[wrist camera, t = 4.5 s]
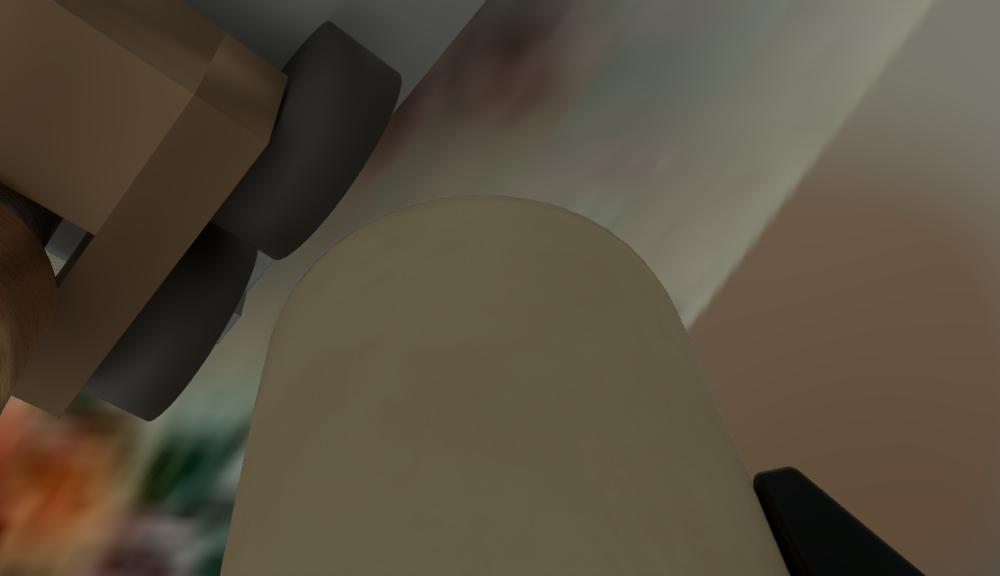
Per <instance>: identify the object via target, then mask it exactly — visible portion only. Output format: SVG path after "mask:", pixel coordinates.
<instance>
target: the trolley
mask: <svg viewBox="0 0 1000 576" xmlns="http://www.w3.org/2000/svg"><path fill="white" fill-rule="evenodd" d="M401 84H402V79H401V75H400V73H399V72H397V71H396V70H395V69H393V68H392V67H391V66H389V65H388V64H387V63H385V62H384V61H383V60H381V59H380V58H379V57H377V56H376V55H375V54H373V53H372V52H371V51H369V50H368V49H367V48H365V47H364V46H363V45H361V44H360V43H359V42H357V41H356V40H355V39H353V38H352V37H351V36H349V35H348V34H347V33H345V32H344V31H343V30H341V29H340V28H339V27H337V26H336V25H335V24H333V23H332V22H331V21H327V22H325V23H323V24H322V25H321V26H320V27H318V28H317V29H316V30H315V31H314V32H313V33H312V34H311V35H310V36H309V38H308V39H307V40H306V41H305V42H304V43H303V44H302V45H301V47H300V48H299V49H298V50H297V51H296V53H295V54H294V55H293V56H292V58H291V59H290V60H289V61H288V63H287V64H286V65H285V66H284V68H283V69H282V70H281V71H280V70H279V69H277V68H276V67H275V66H273V65H272V64H270V63H269V62H267V61H266V60H265V59H263V58H262V57H260V56H259V55H258V54H256V53H255V52H253V51H252V50H250V49H249V48H248V47H246V46H245V45H243V44H242V43H241V42H239V41H238V40H236V39H235V38H234V37H232V36H231V35H229V34H228V33H226V32H225V31H224V30H222V29H221V28H219V27H218V26H217V25H215V24H214V23H212V22H211V21H209V20H208V19H207V18H205V17H204V16H202V15H201V14H200V13H198V12H197V11H195V10H194V9H192V8H191V7H190V6H188V5H187V4H185V3H184V2H183V1H181V0H0V182H1V183H3V184H4V185H6V186H8V187H10V188H12V189H13V190H15V191H17V192H19V193H20V194H22V195H24V196H26V197H28V198H29V199H31V200H33V201H35V202H36V203H38V204H40V205H42V206H43V207H45V208H47V209H49V210H51V211H52V212H54V213H56V214H58V215H59V216H61V217H63V218H65V219H67V220H68V221H70V222H72V223H74V224H75V225H77V226H79V227H81V228H82V229H84V230H86V231H87V233H86V234H85V236H84V237H83V239H82V240H81V242H80V243H79V244H78V246H77V247H76V249H75V250H74V252H73V253H72V254H71V256H70V257H69V259H68V260H67V262H66V263H65V264H64V266H63V267H62V269H61V270H60V272H59V273H58V275H57V276H56V277H55V279H56V285H57V303H56V309H55V314H54V316H53V319H52V322H51V324H50V326H49V328H48V330H47V331H46V333H45V335H44V337H43V339H42V340H41V342H40V344H39V346H38V348H37V349H36V351H35V353H34V355H33V357H32V358H31V360H30V362H29V364H28V366H27V367H26V369H25V371H24V373H23V375H22V376H21V378H20V380H19V382H18V384H17V385H16V387H15V389H14V391H13V393H12V396H14V397H16V398H18V399H20V400H23V401H25V402H27V403H29V404H31V405H33V406H35V407H38V408H40V409H42V410H44V411H46V412H48V413H50V414H52V415H55V416H57V417H60V416H61V415H62V413H63V412H64V411H65V409H66V408H67V407H68V405H69V404H70V403H71V401H72V400H73V399H74V398H75V396H76V395H77V394H78V392H79V391H80V390H81V389H82V390H84V391H86V392H88V393H90V394H92V395H94V396H96V397H99V398H101V399H103V400H105V401H107V402H109V403H111V404H113V405H115V406H117V407H119V408H121V409H123V410H125V411H127V412H129V413H131V414H133V415H135V416H138V417H140V418H142V419H144V420H146V421H152V420H154V419H156V418H157V417H158V416H160V415H161V414H162V413H163V412H164V411H165V410H166V409H167V408H168V407H169V406H170V405H171V404H172V403H173V402H174V401H175V400H176V398H177V397H178V396H179V395H180V394H181V393H182V391H183V390H184V389H185V388H186V386H187V385H188V384H189V382H190V381H191V380H192V378H193V377H194V376H195V374H196V373H197V371H198V370H199V369H200V367H201V366H202V364H203V363H204V361H205V360H206V358H207V357H208V355H209V354H210V352H211V351H212V349H213V347H214V346H215V344H216V343H217V341H218V339H219V338H220V336H221V334H222V333H223V331H224V329H225V328H226V326H227V324H228V322H229V320H230V319H231V317H232V315H233V313H234V311H235V309H236V307H237V305H238V303H239V302H240V300H241V297H242V295H243V293H244V291H245V289H246V287H247V284H248V282H249V280H250V277H251V274H252V272H253V269H254V266H255V262H256V258H257V251H258V250H259V251H261V252H262V253H264V254H266V255H267V256H269V257H271V258H272V259H275V260H280V259H283V258H285V257H287V256H288V255H290V254H291V253H292V252H294V251H295V250H296V249H297V248H298V247H300V246H301V245H302V244H303V243H304V242H305V241H306V240H307V239H308V238H309V237H310V236H311V235H312V234H313V233H314V232H315V231H316V230H317V228H318V227H319V226H320V225H321V224H322V223H323V221H324V220H325V219H326V218H327V217H328V215H329V214H330V213H331V212H332V210H333V209H334V208H335V207H336V205H337V204H338V203H339V201H340V200H341V199H342V197H343V196H344V195H345V193H346V192H347V190H348V189H349V188H350V186H351V185H352V183H353V182H354V180H355V179H356V177H357V176H358V174H359V173H360V171H361V170H362V168H363V167H364V165H365V163H366V162H367V160H368V159H369V157H370V155H371V154H372V152H373V150H374V148H375V147H376V145H377V143H378V141H379V140H380V138H381V136H382V134H383V132H384V130H385V128H386V126H387V124H388V122H389V120H390V118H391V115H392V113H393V111H394V108H395V106H396V103H397V100H398V97H399V94H400V90H401Z"/></svg>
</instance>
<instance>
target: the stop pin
mask: <svg viewBox="0 0 1000 576" xmlns="http://www.w3.org/2000/svg"><path fill="white" fill-rule="evenodd" d="M63 219H64V218H63V217H61V216H59V215H58V214H56V213H54V212H52V211H51V210H49V209H47V208H45V207H43V206H42V205H40V204H38V203H36V202H35V201H33V200H31V199H29V198H28V197H26V196H24V195H22V194H20V193H19V192H17V191H15V190H13V189H12V188H10V187H8V186H6V185H4V184H3V183H1V182H0V414H1V413H2V411H3V409H4V407H5V405H6V404H7V402H8V400H9V398H10V396H11V395H12V393H13V391H14V389H15V387H16V385H17V384H18V382H19V380H20V378H21V376H22V375H23V373H24V371H25V369H26V367H27V366H28V364H29V362H30V360H31V358H32V357H33V355H34V353H35V351H36V349H37V348H38V346H39V344H40V342H41V340H42V339H43V337H44V335H45V333H46V331H47V330H48V328H49V326H50V324H51V322H52V319H53V316H54V314H55V309H56V303H57V285H56V279H55V274H54V271H53V268H52V265H51V262H50V260H49V258H48V256H47V254H46V252H45V250H44V248H45V247H46V245H47V244H48V242H49V241H50V239H51V238H52V236H53V234H54V233H55V231H56V230H57V228H58V227H59V225H60V223H61V222H62V220H63Z"/></svg>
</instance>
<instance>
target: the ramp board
mask: <svg viewBox="0 0 1000 576" xmlns="http://www.w3.org/2000/svg"><path fill="white" fill-rule="evenodd" d="M181 1H183V2H184V3H185V4H187V5H188V6H190V7H191V8H192V9H194V10H195V11H197V12H198V13H200V14H201V15H202V16H204V17H205V18H207V19H208V20H209V21H211V22H212V23H214V24H215V25H217V26H218V27H219V28H221V29H222V30H224V31H225V32H226V33H228V34H229V35H231V36H232V37H234V38H235V39H236V40H238V41H239V42H241V43H242V44H243V45H245V46H246V47H248V48H249V49H250V50H252V51H253V52H255V53H256V54H258V55H259V56H260V57H262V58H263V59H265V60H266V61H267V62H269V63H270V64H272V65H273V66H275V67H276V68H277V69H279V70H280V71H281V70H282V69H283V68H284V66H285V65H286V64H287V63H288V61H289V60H290V59H291V58H292V56H293V55H294V54H295V53H296V51H297V50H298V49H299V48H300V47H301V45H302V44H303V43H304V42H305V41H306V40H307V39H308V38H309V36H310V35H311V34H312V33H313V32H314V31H315V30H316V29H317V28H318V27H320V26H321V25H322V24H323V23H325V22H327V21H331V22H332V23H333V24H335V25H336V26H337V27H339V28H340V29H341V30H343V31H344V32H345V33H347V34H348V35H349V36H351V37H352V38H353V39H355V40H356V41H357V42H359V43H360V44H361V45H363V46H364V47H365V48H367V49H368V50H369V51H371V52H372V53H373V54H375V55H376V56H377V57H379V58H380V59H381V60H383V61H384V62H385V63H387V64H388V65H389V66H391V67H392V68H393V69H395V70H396V71H397V72H399V73H400V75H401V79H402V84H401V90H400V94H399V97H398V100H397V103H396V106H395V108H394V111H393V113H392V115H393V114H394V112H395V111H396V110H397V109H398V107H399V106H400V105H401V104H402V103H403V101H404V100H405V99H406V98H407V96H408V95H409V94H410V93H411V92H412V90H413V89H414V88H415V87H416V85H417V84H418V83H419V82H420V81H421V79H422V78H423V77H424V76H425V75H426V73H427V72H428V71H429V70H430V68H431V67H432V66H433V65H434V64H435V62H436V61H437V60H438V59H439V57H440V56H441V55H442V54H443V53H444V51H445V50H446V49H447V48H448V46H449V45H450V44H451V43H452V42H453V40H454V39H455V38H456V37H457V35H458V34H459V33H460V32H461V31H462V29H463V28H464V27H465V26H466V24H467V23H468V22H469V21H470V20H471V18H472V17H473V16H474V15H475V13H476V12H477V11H478V10H479V9H480V7H481V6H482V5H483V4H484V3H485V1H486V0H181ZM392 115H391V116H392ZM86 233H87V231H86V230H84V229H82V228H81V227H79V226H77V225H75V224H74V223H72V222H70V221H68V220H67V219H65V218H64V219H63V220H62V222H61V223H60V225H59V227H58V228H57V230H56V231H55V233H54V234H53V236H52V238H51V239H50V241H49V242H48V244H47V245H46V247H45V248H44V250H46V251H48V252H50V253H51V254H53V255H55V256H57V257H59V258H61V259H62V260H64V261H66V262H67V260H68V259H69V257H70V256H71V254H72V253H73V252H74V250H75V249H76V247H77V246H78V244H79V243H80V242H81V240H82V239H83V237H84V236H85V234H86ZM273 260H274V259H272V258H271V257H269V256H267V255H266V254H264V253H262V252H261V251H259V250H258V251H257V258H256V262H255V266H254V269H253V272H252V274H251V277H250V280H249V282H248V284H247V287H246V289H245V291H244V293H243V295H242V297H241V300H240V302H239V303H238V305H237V307H236V309H235V311H234V313H233V315H232V317H231V319H230V320H229V322H228V324H227V326H226V328H225V329H224V331H223V333H222V334H221V336H220V338H219V339H218V341H217V344H218V343H219V342H220V341H221V339H222V338H223V337H224V336H225V335H226V333H227V332H228V331H229V330H230V329H231V327H232V326H233V325H234V324H235V323H236V321H237V320H238V319H239V318H240V316H241V313H242V309H243V305H244V302H245V298H246V294H247V292H248V290H249V289H250V288H251V287H252V286H253V284H254V283H255V282H256V281H257V280H258V278H259V277H260V276H261V275H262V273H263V272H264V271H265V270H266V269H267V267H268V266H269V265H270V264H271V262H272V261H273Z"/></svg>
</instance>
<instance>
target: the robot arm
mask: <svg viewBox="0 0 1000 576" xmlns="http://www.w3.org/2000/svg"><path fill="white" fill-rule="evenodd" d="M753 488H754V490H755V493H756V495H757V497H758V500H759V502H760V505H761V507H762V509H763V512H764V514H765V516H766V519H767V521H768V523H769V526H770V528H771V530H772V533H773V535H774V537H775V540H776V542H777V545H778V547H779V549H780V552H781V554H782V556H783V559H784V561H785V563H786V566H787V568H788V570H789V573H790V575H791V576H926V575H924V574H923V573H922V572H921V571H920V570H918V569H917V568H916V567H915V566H914V565H912V564H911V563H910V562H909V561H907V560H906V559H905V558H904V557H903V556H901V555H900V554H899V553H898V552H897V551H895V550H894V549H893V548H892V547H891V546H889V545H888V544H887V543H886V542H884V541H883V540H882V539H881V538H880V537H878V536H877V535H876V534H875V533H874V532H872V531H871V530H870V529H869V528H867V527H866V526H865V525H864V524H863V523H862V522H860V521H859V520H858V519H856V517H854V516H853V515H852V514H851V513H849V512H848V511H847V510H846V509H845V508H843V507H842V506H841V505H840V504H839V503H837V502H836V501H835V500H834V499H832V498H831V497H830V496H829V495H828V494H826V493H825V492H824V491H823V490H822V489H820V488H819V487H818V486H817V485H815V484H814V483H813V482H812V481H811V480H810V479H808V478H807V477H806V476H805V475H803V474H802V473H801V472H800V471H799V470H797V469H796V468H793V467H782V468H777V469H773V470H767V471H763V472H759V473H757V474H756V475H755V476H754V480H753Z"/></svg>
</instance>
